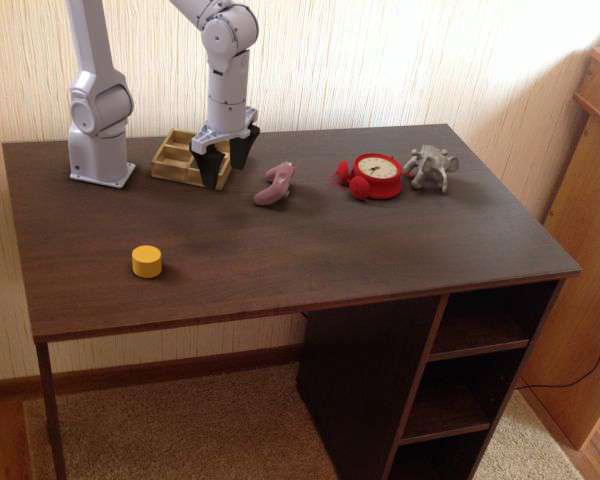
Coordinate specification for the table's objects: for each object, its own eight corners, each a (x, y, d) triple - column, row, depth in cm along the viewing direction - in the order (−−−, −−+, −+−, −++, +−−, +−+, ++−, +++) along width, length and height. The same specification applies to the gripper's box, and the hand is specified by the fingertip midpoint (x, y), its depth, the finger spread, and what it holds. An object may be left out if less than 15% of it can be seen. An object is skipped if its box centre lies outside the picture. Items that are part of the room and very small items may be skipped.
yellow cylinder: (129, 274, 117) (128, 259, 115) (138, 258, 120) (137, 242, 118) (156, 280, 117) (156, 264, 114) (165, 264, 120) (164, 248, 117)
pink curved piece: (272, 217, 134) (292, 190, 130) (250, 202, 133) (271, 174, 128) (284, 189, 141) (304, 162, 136) (264, 175, 140) (283, 147, 135)
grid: (151, 176, 136) (151, 161, 134) (172, 142, 145) (171, 127, 143) (221, 190, 136) (222, 175, 134) (237, 155, 145) (238, 141, 142)
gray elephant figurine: (428, 167, 150) (438, 131, 144) (468, 199, 144) (479, 162, 138) (392, 177, 146) (400, 140, 140) (431, 210, 140) (442, 173, 134)
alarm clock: (421, 176, 140) (358, 173, 132) (407, 206, 144) (346, 204, 136) (390, 148, 146) (328, 144, 137) (378, 178, 150) (317, 175, 141)
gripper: (220, 122, 106) (216, 205, 116) (276, 88, 115) (268, 168, 125) (180, 104, 108) (180, 188, 118) (238, 73, 117) (234, 153, 127)
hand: (223, 177), depth 121 cm, fingers open, 7 cm apart
